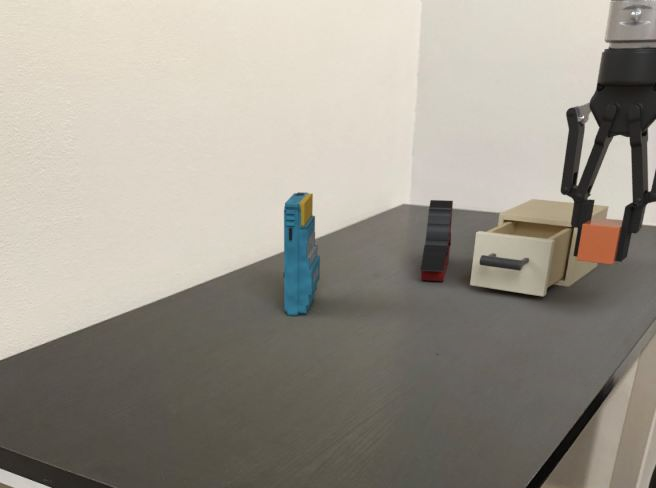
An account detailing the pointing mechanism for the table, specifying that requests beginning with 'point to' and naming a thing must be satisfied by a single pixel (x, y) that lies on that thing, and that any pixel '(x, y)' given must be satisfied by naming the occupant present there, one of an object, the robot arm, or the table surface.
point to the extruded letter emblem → (437, 241)
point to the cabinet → (555, 216)
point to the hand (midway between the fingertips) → (599, 256)
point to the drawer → (521, 257)
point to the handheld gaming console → (300, 254)
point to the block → (599, 240)
